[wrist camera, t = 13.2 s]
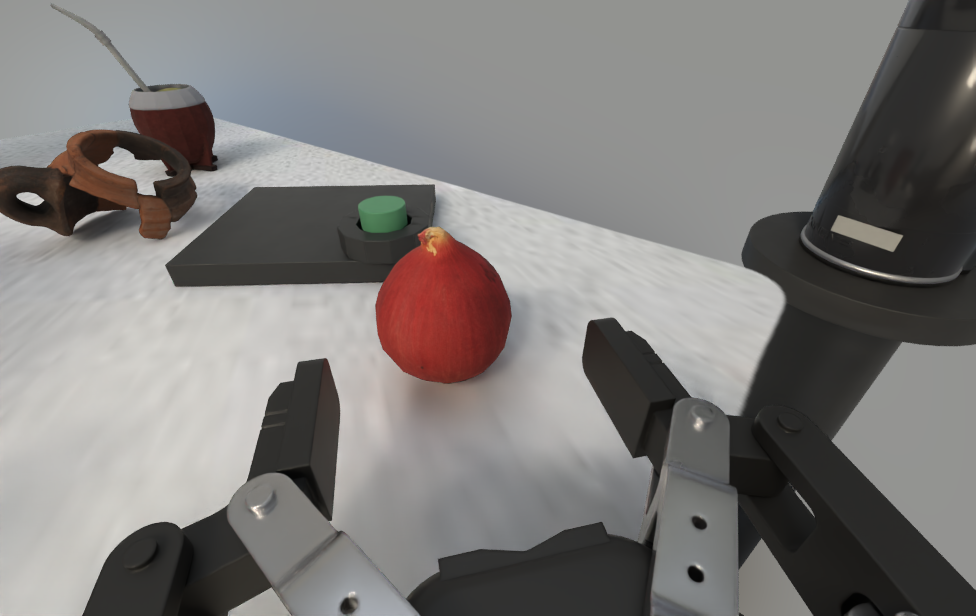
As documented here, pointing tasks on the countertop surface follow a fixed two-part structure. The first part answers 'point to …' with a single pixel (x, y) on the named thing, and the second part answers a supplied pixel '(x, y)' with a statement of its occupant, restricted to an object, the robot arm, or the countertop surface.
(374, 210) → the button
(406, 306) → the onion
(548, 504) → the countertop surface
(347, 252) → the scale
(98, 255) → the countertop surface
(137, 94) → the mate gourd
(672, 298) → the countertop surface
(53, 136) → the countertop surface
